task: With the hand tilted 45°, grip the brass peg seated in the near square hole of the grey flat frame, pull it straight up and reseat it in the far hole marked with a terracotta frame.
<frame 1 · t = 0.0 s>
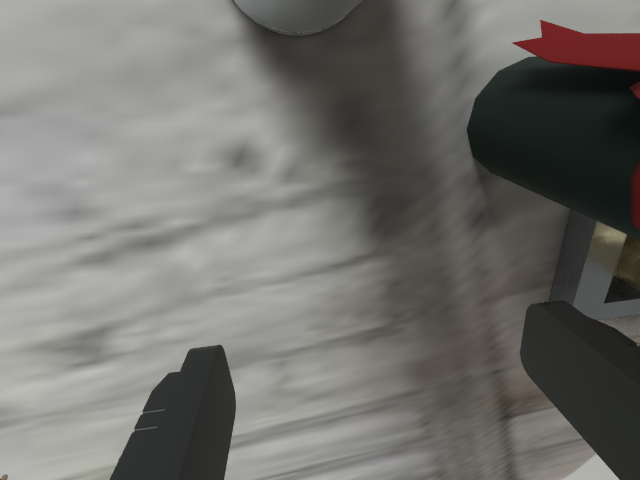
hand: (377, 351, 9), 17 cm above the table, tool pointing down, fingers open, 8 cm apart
wine bottle: (513, 106, 24), on the table
brass peg: (625, 250, 30), resting in grey flat frame
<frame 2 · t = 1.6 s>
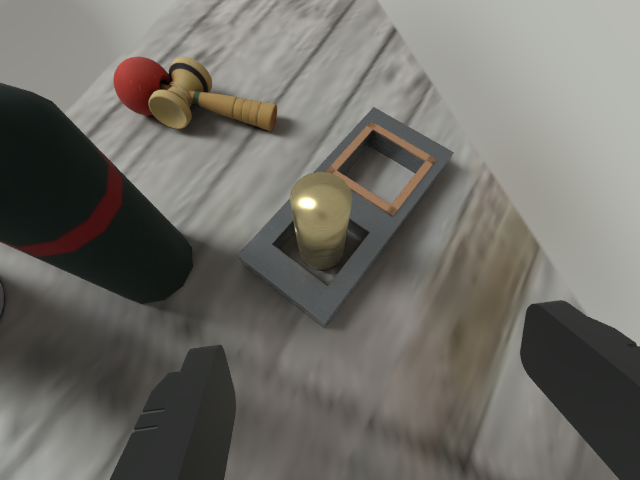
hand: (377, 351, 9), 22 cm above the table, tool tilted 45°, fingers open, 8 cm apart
grey flat frame: (350, 212, 36), on the table
wine bottle: (142, 263, 34), on the table
brass peg: (321, 248, 34), resting in grey flat frame
kendama: (205, 115, 41), on the table
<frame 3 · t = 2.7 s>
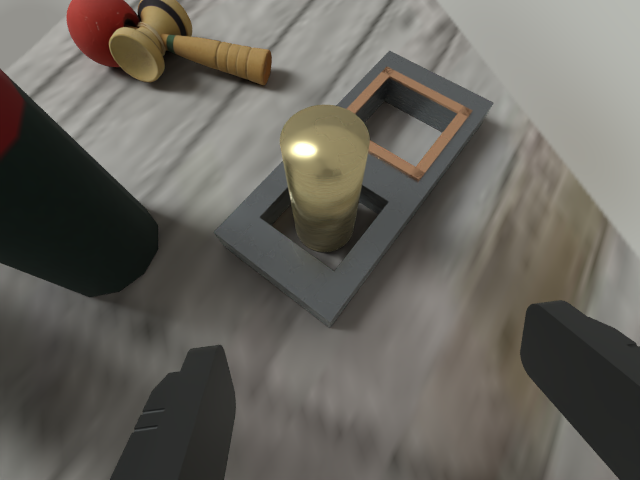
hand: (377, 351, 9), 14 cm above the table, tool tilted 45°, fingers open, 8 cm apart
grey flat frame: (361, 180, 28), on the table
wine bottle: (94, 245, 26), on the table
brass peg: (324, 224, 26), resting in grey flat frame
kendama: (184, 68, 34), on the table
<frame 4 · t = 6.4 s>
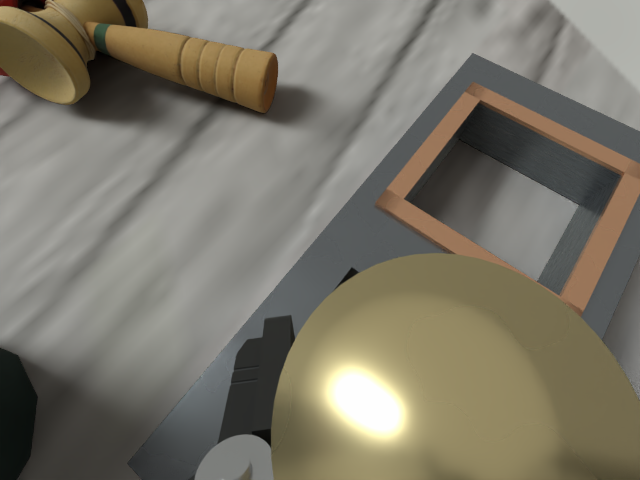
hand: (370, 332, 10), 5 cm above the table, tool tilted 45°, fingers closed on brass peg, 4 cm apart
grey flat frame: (432, 298, 15), on the table
brass peg: (365, 399, 13), resting in grey flat frame, touching gripper
kendama: (134, 81, 21), on the table
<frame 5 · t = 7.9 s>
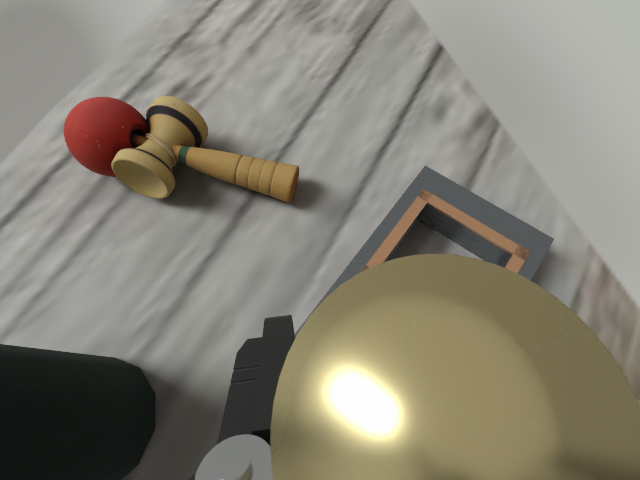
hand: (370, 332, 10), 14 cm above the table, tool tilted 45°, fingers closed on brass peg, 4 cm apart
grey flat frame: (396, 330, 23), on the table
wine bottle: (79, 421, 22), on the table
brass peg: (365, 399, 13), point 9 cm above the table, touching gripper
kendama: (197, 174, 29), on the table
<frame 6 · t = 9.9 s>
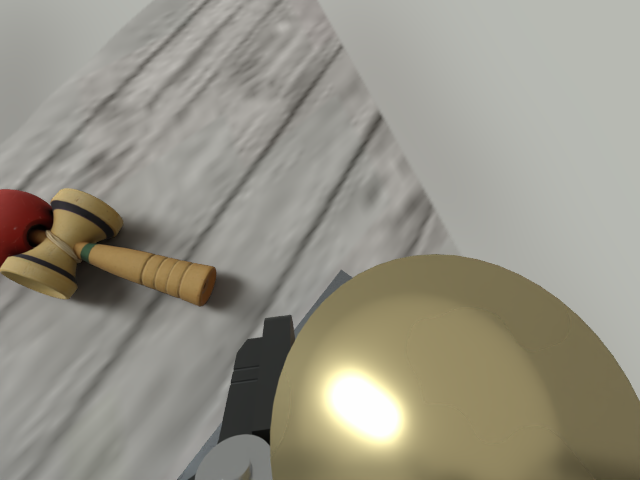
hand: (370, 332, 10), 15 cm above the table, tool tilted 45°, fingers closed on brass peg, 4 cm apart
grey flat frame: (300, 459, 22), on the table
brass peg: (366, 399, 13), point 11 cm above the table, touching gripper
kendama: (112, 263, 27), on the table
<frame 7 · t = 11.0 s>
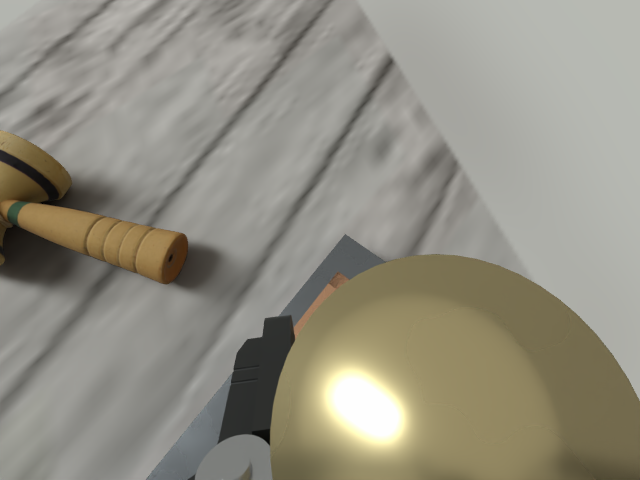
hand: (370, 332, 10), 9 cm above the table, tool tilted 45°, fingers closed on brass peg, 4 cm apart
brass peg: (366, 399, 13), point 5 cm above the table, touching gripper
kendama: (59, 231, 22), on the table
when the fingers open (6 cm above the table, at t = 12.6 s): brass peg drops 1 cm, resting in grey flat frame.
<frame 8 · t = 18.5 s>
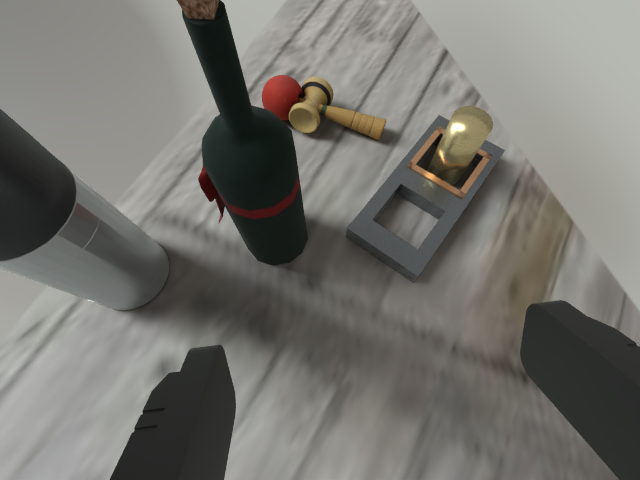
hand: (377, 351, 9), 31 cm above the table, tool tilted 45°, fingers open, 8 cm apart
grey flat frame: (424, 197, 46), on the table
wine bottle: (268, 236, 44), on the table
brass peg: (443, 173, 47), resting in grey flat frame
kendama: (323, 123, 51), on the table
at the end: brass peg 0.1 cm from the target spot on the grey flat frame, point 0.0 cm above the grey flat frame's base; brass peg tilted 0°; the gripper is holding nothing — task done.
